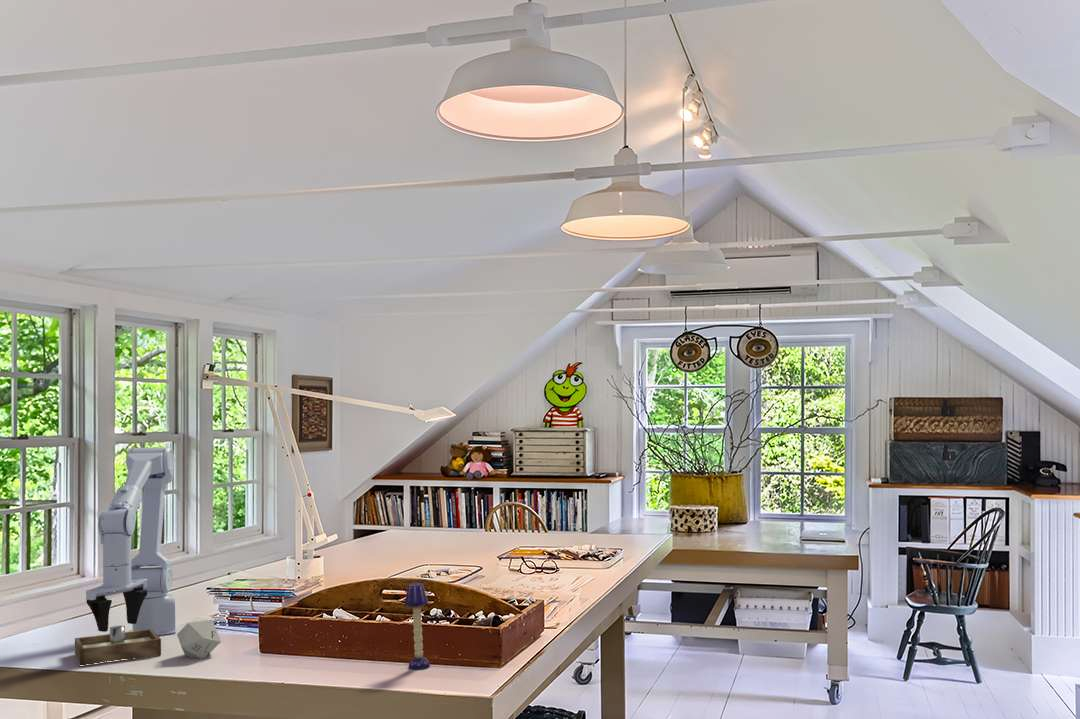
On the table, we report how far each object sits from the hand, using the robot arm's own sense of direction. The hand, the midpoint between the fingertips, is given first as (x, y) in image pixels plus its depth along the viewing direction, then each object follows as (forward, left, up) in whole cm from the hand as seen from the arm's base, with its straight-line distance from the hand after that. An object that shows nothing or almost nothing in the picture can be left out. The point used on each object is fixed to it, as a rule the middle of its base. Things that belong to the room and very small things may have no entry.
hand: (117, 627), depth 221 cm
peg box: (0, 0, -6) cm, 6 cm away
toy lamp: (-51, +46, -6) cm, 69 cm away
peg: (0, 0, -6) cm, 6 cm away
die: (-15, +11, -6) cm, 20 cm away
